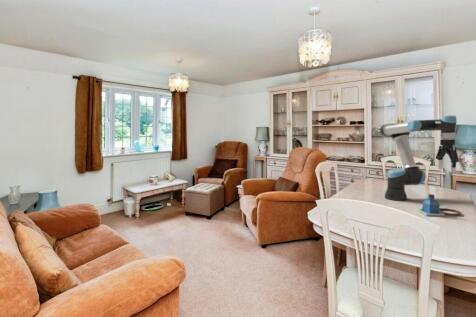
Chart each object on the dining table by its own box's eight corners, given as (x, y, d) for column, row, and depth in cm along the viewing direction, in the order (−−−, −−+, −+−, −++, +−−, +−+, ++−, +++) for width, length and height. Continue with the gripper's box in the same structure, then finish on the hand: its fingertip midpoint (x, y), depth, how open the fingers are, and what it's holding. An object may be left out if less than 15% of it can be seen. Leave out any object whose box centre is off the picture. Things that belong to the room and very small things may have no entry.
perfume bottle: (431, 211, 163) (432, 193, 161) (439, 214, 157) (440, 195, 155) (422, 211, 163) (423, 193, 161) (429, 214, 157) (430, 196, 155)
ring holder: (433, 210, 166) (433, 208, 166) (452, 210, 164) (452, 208, 164) (444, 215, 155) (444, 213, 155) (465, 216, 153) (465, 214, 153)
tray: (417, 210, 166) (417, 208, 165) (434, 211, 164) (434, 209, 164) (426, 216, 156) (426, 213, 155) (444, 216, 154) (444, 214, 154)
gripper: (430, 138, 175) (429, 168, 178) (453, 140, 151) (451, 173, 153) (442, 138, 174) (441, 168, 176) (467, 139, 150) (465, 173, 152)
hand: (446, 170), depth 165 cm, fingers open, 13 cm apart
